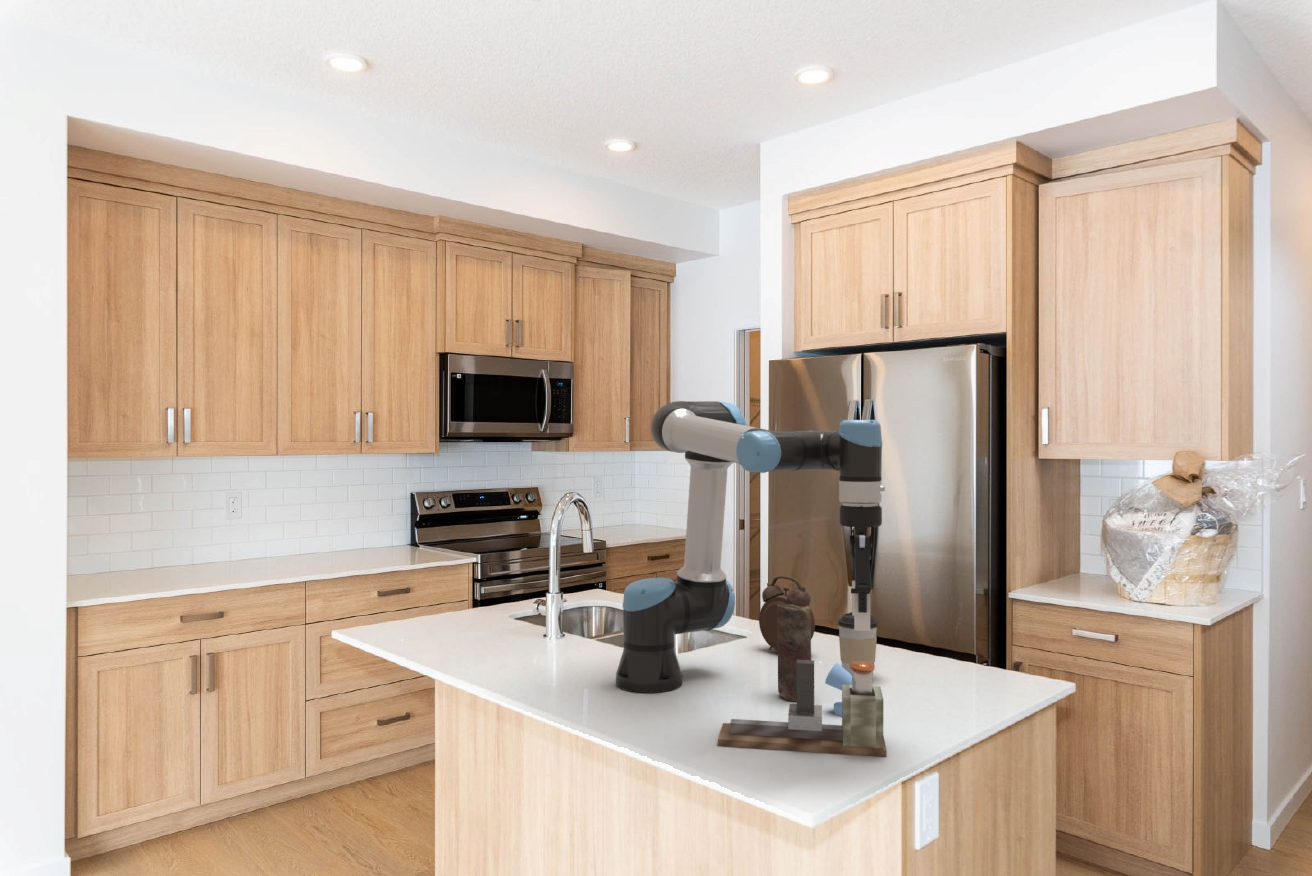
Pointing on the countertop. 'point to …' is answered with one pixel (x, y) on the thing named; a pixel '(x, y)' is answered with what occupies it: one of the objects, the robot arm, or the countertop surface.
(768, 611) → the alarm clock
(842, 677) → the spotlight
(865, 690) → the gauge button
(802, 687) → the carriage
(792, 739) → the rail
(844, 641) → the coffee cup
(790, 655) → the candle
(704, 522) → the robot arm
